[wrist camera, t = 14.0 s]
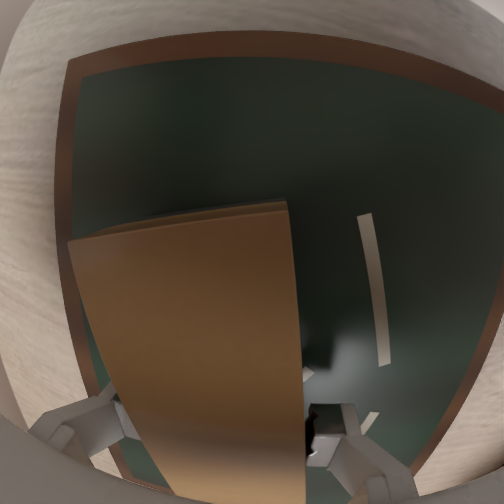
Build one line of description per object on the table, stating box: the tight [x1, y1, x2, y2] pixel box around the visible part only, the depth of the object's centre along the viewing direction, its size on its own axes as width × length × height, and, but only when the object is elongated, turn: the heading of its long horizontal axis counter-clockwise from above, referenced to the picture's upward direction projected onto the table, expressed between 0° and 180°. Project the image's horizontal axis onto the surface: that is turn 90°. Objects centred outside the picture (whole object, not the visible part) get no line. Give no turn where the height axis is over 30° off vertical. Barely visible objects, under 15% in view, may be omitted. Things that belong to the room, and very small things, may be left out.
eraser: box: [68, 198, 306, 504], centre depth 9 cm, size 12×5×4 cm, turn 7°
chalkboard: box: [54, 31, 504, 504], centre depth 11 cm, size 26×20×1 cm
